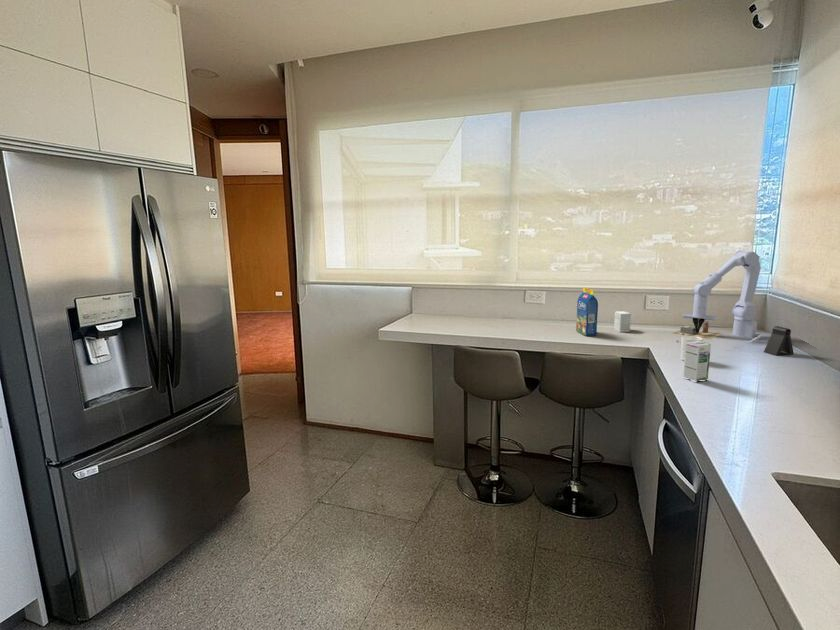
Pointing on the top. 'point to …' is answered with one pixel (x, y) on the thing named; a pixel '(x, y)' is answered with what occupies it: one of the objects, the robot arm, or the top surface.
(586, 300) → the blue food package
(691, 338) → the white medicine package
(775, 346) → the phone stand
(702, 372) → the syrup box
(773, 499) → the top surface
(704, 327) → the grey-capped wooden dowel
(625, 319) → the small box
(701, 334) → the plywood board
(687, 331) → the block
